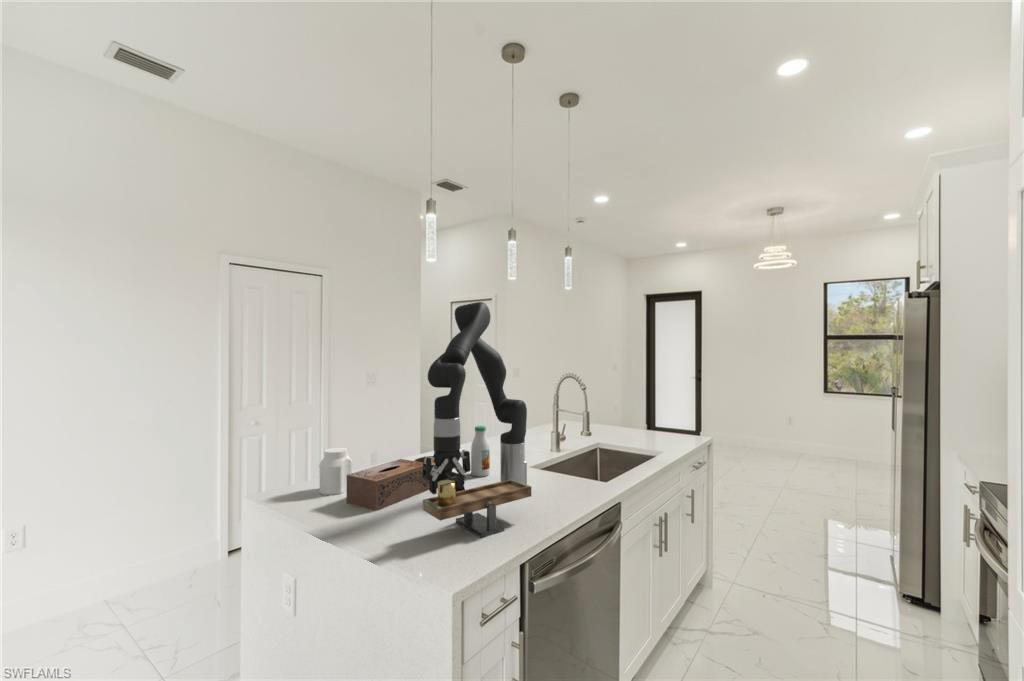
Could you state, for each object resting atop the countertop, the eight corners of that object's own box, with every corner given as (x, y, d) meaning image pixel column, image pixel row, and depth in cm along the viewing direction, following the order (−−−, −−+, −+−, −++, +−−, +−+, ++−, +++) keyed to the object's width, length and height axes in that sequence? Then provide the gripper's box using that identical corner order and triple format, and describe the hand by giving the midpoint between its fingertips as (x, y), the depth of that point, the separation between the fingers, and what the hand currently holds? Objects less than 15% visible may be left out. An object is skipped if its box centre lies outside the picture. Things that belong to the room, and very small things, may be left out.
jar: (335, 496, 166) (335, 454, 166) (314, 493, 170) (314, 452, 170) (356, 486, 177) (356, 447, 177) (336, 484, 180) (336, 445, 181)
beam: (511, 488, 152) (511, 479, 152) (531, 496, 144) (531, 486, 144) (422, 510, 133) (422, 499, 133) (440, 520, 124) (440, 509, 124)
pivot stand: (477, 516, 146) (477, 491, 146) (504, 530, 135) (504, 503, 135) (455, 522, 141) (455, 496, 141) (481, 537, 130) (481, 509, 130)
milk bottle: (475, 478, 188) (475, 428, 189) (468, 473, 195) (468, 425, 195) (492, 475, 192) (492, 427, 192) (485, 471, 199) (484, 424, 199)
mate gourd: (462, 505, 156) (461, 475, 156) (440, 504, 158) (440, 475, 158) (468, 498, 163) (467, 470, 163) (447, 497, 165) (447, 469, 165)
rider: (450, 499, 135) (449, 479, 135) (458, 504, 131) (458, 483, 131) (434, 503, 132) (434, 482, 132) (443, 508, 128) (443, 486, 128)
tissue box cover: (400, 484, 181) (400, 458, 181) (429, 490, 174) (429, 463, 174) (346, 504, 159) (346, 474, 159) (376, 511, 151) (376, 481, 151)
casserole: (471, 477, 190) (470, 456, 190) (451, 491, 172) (451, 468, 172) (416, 472, 197) (416, 452, 197) (392, 485, 179) (392, 463, 179)
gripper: (461, 428, 139) (461, 482, 139) (418, 434, 130) (418, 492, 130) (475, 432, 133) (475, 489, 133) (430, 438, 124) (430, 499, 124)
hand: (447, 490), depth 132 cm, fingers open, 8 cm apart
